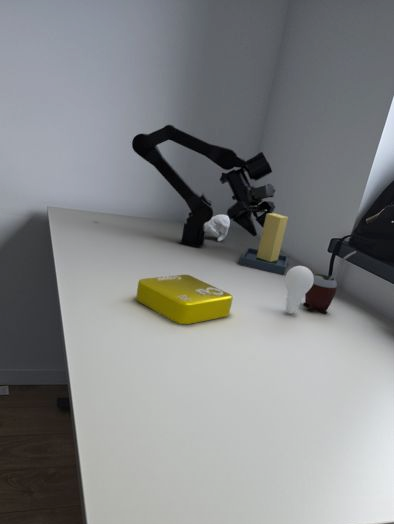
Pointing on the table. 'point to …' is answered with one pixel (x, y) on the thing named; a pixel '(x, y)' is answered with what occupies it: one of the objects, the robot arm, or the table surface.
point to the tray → (251, 261)
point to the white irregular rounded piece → (218, 226)
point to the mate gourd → (322, 290)
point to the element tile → (184, 298)
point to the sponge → (272, 238)
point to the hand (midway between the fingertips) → (263, 234)
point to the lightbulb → (297, 286)
